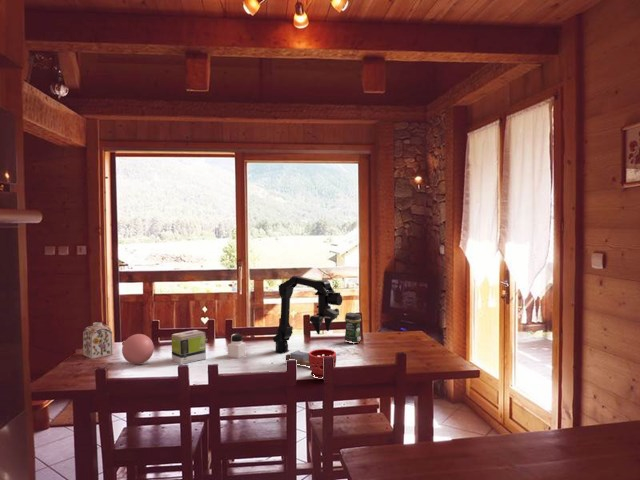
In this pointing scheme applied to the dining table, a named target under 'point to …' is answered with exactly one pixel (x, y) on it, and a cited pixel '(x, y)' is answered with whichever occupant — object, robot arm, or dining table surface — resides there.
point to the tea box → (188, 346)
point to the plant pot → (319, 361)
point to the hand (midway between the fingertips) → (323, 332)
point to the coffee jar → (352, 327)
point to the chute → (299, 360)
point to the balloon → (137, 349)
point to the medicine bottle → (236, 347)
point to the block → (300, 355)
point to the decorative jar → (97, 341)
